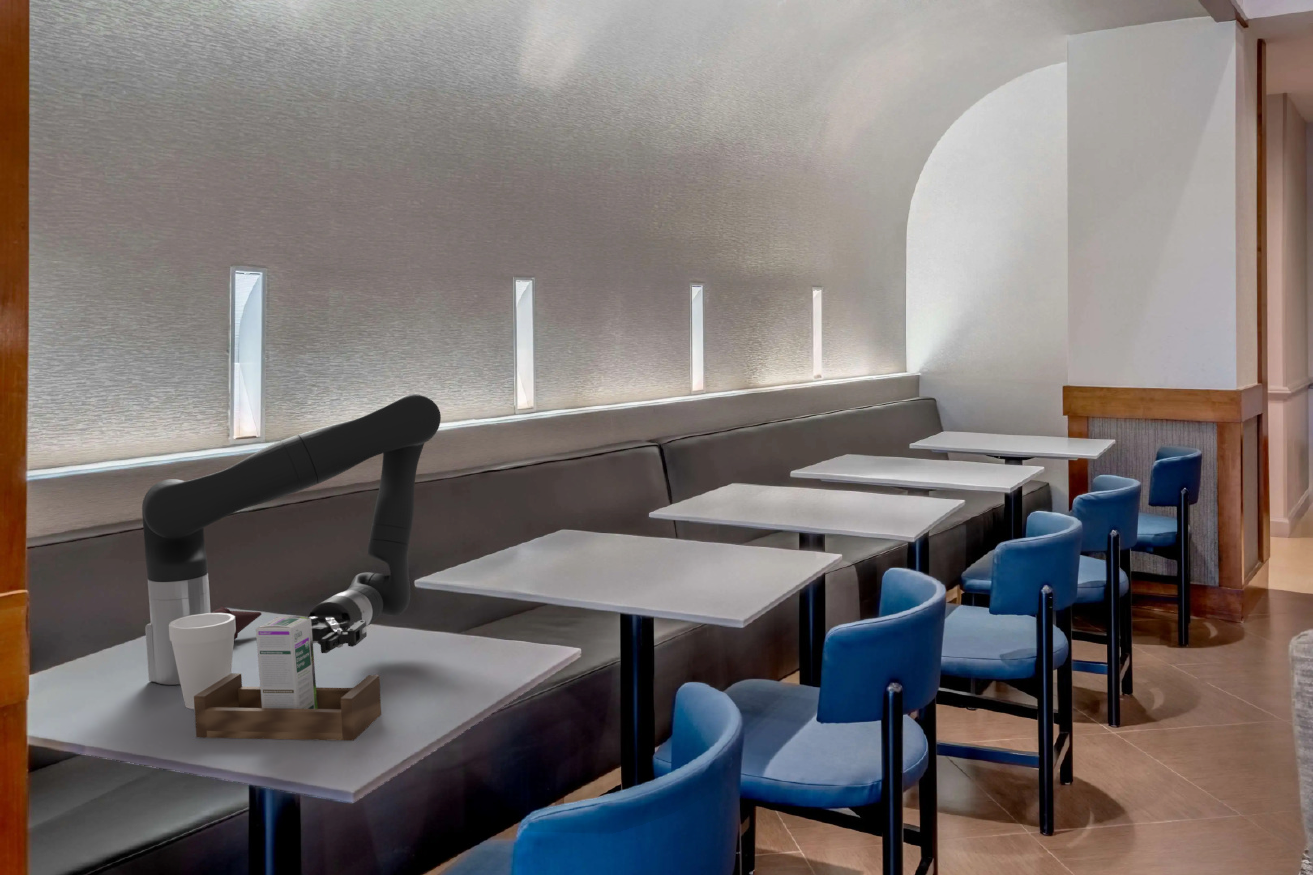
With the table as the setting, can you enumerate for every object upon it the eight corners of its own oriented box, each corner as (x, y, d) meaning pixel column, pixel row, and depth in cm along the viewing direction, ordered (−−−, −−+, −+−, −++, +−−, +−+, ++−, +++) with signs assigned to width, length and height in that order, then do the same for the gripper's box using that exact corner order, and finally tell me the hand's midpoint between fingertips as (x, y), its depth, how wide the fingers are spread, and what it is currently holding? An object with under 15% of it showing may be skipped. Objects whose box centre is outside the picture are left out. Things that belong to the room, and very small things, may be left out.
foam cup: (195, 716, 160) (190, 631, 158) (162, 705, 165) (156, 623, 164) (252, 698, 167) (247, 617, 166) (218, 688, 173) (213, 610, 171)
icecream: (246, 598, 208) (172, 621, 197) (265, 593, 204) (191, 617, 192) (256, 632, 208) (182, 657, 197) (275, 628, 204) (201, 654, 192)
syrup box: (299, 726, 151) (293, 626, 150) (260, 725, 152) (255, 625, 151) (318, 712, 157) (313, 616, 156) (281, 711, 158) (275, 615, 157)
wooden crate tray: (196, 737, 151) (193, 696, 150) (233, 711, 161) (231, 673, 161) (353, 740, 148) (351, 698, 148) (381, 714, 159) (379, 675, 158)
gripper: (298, 594, 174) (248, 620, 157) (382, 595, 172) (340, 621, 156) (300, 639, 174) (251, 670, 158) (384, 641, 172) (342, 671, 156)
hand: (295, 646), depth 157 cm, fingers open, 8 cm apart
